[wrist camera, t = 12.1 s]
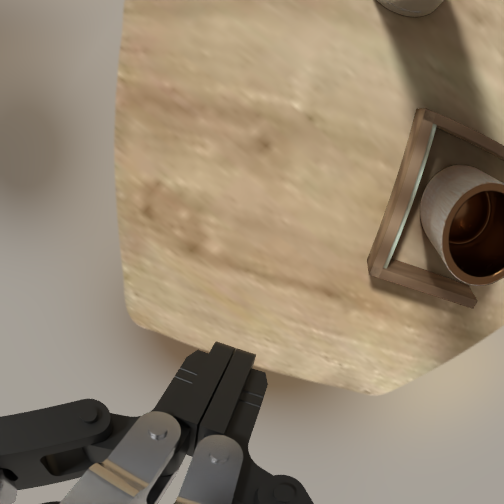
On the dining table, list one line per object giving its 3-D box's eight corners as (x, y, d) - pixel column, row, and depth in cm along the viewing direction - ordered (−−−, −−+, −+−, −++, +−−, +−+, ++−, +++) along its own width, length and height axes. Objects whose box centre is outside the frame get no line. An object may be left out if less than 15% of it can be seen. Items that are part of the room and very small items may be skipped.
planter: (487, 155, 29) (525, 170, 21) (498, 238, 32) (531, 271, 24) (409, 175, 33) (430, 195, 25) (426, 258, 36) (445, 298, 28)
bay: (416, 108, 30) (425, 108, 26) (519, 158, 28) (534, 164, 24) (367, 260, 39) (369, 275, 35) (464, 292, 36) (473, 308, 33)
